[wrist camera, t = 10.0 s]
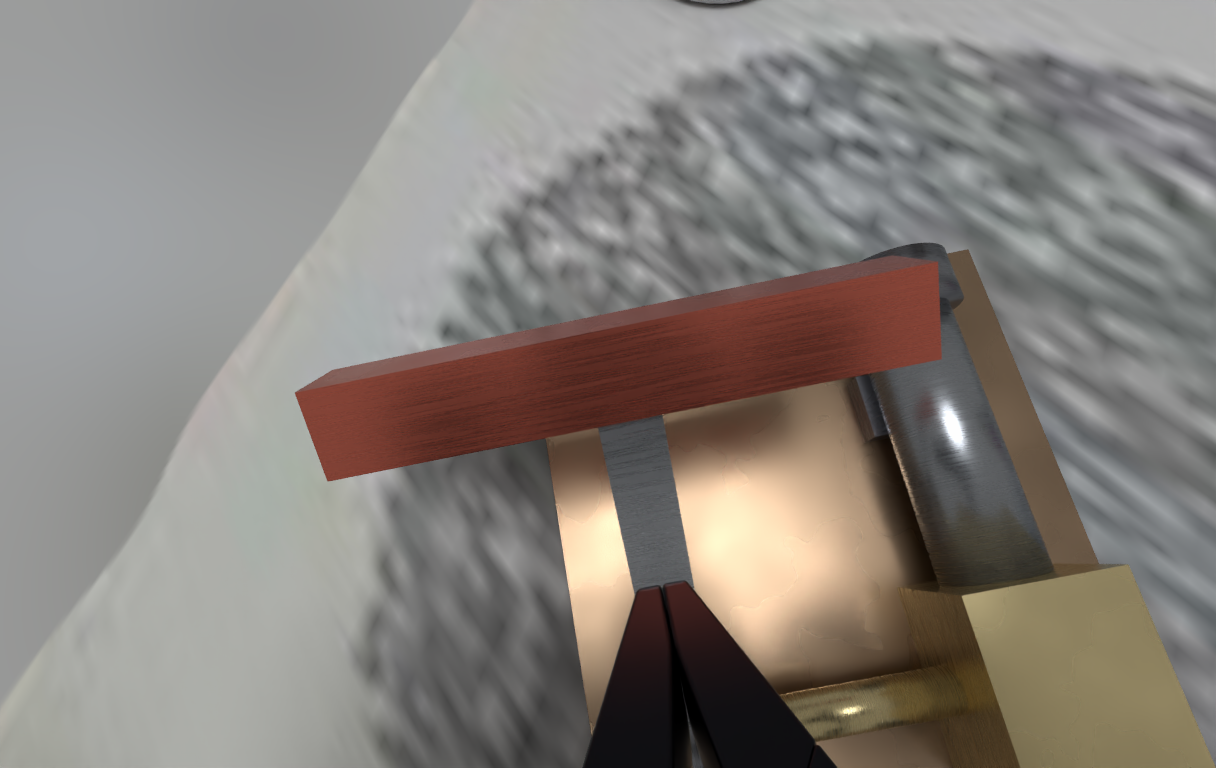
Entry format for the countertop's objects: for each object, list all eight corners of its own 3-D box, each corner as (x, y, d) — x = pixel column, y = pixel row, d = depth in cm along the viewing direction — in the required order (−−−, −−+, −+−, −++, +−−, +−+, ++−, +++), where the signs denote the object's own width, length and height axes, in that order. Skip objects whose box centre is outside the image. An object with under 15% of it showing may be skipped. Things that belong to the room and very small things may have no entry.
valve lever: (961, 761, 15) (943, 262, 11) (460, 851, 15) (289, 395, 12) (915, 692, 17) (887, 255, 13) (476, 773, 17) (336, 367, 14)
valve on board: (1245, 994, 15) (1523, 1200, 10) (653, 1091, 16) (650, 1335, 11) (951, 265, 22) (1037, 179, 17) (536, 349, 22) (501, 291, 17)
